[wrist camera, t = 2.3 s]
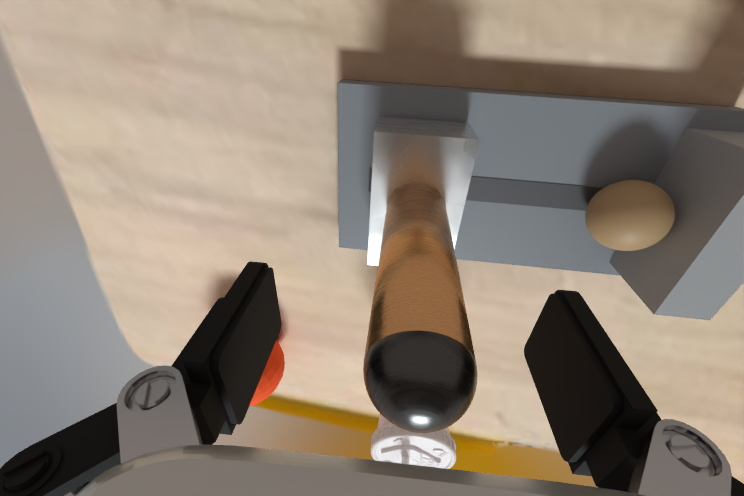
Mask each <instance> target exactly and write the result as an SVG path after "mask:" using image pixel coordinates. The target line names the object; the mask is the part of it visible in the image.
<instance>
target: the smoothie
mask: <svg viewBox="0 0 744 496" xmlns="http://www.w3.org/2000/svg"><path fill="white" fill-rule="evenodd" d="M371 443H372V444H371V455H372V457H373V459H374V460H375V461H384V462H393V463H401V464H410V465H419V466H427V467H436V468H445V469H450V468H451V467H452V466H453V465H454V463H455V461H456V452H455V449H456V444H455V441H454V439H453V438H452V436H451V435H450V434H449V430H448V427H447V428H445V429H442V430H440V431H436V432H431V433H416V432H410V431H407V430H404V429H401V428H399V427H397V426H395V425H394V424H392V423H391V422H389V421H388V420H387V419H386V418H384V417H383V416H382V415H381V414H380V417H379V423H378V428H377V430H376V431H375V432H374V433H373V435H372V439H371Z"/></svg>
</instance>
